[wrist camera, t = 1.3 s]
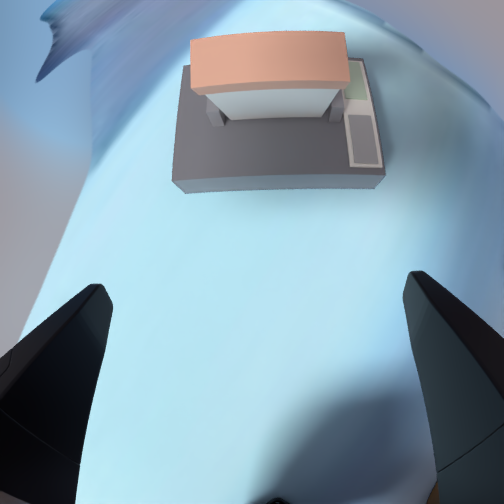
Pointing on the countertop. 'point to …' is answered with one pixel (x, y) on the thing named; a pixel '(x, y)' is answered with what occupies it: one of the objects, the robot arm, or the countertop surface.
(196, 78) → the lever
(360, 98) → the switch unit
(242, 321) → the countertop surface
